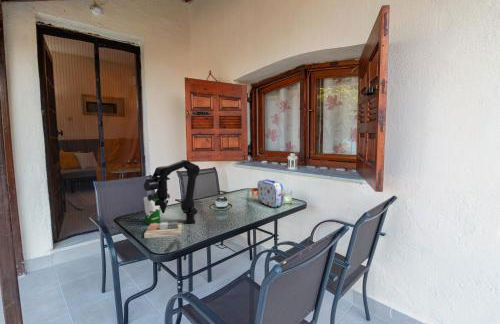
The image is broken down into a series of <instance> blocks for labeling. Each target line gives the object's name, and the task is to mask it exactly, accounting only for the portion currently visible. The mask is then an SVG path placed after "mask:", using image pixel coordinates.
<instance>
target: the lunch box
mask: <svg viewBox="0 0 500 324" xmlns="http://www.w3.org/2000/svg"><path fill="white" fill-rule="evenodd" d="M283 196H284V188H283V184H282V183H280V182H279V181H276V180H270V179H263V180H259V181H258V182H257V199H258V201H259V202H260V203H261V202H262V204H263V203H264V204H263V205H265V204H266V205H265V206H267V205H268V207H270V206H271V207H270V208H278V207H282V206H283V201H284V198H283ZM277 206H278V207H277Z"/></svg>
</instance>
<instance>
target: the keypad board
mask: <svg viewBox="0 0 500 324" xmlns="http://www.w3.org/2000/svg"><path fill="white" fill-rule="evenodd" d="M170 224H171V223H168V229H167V230H160V224H158V229H157V230H154V231H150V225H148V227H147V229H146V230H145V231H144V234H143V235H144V239H149V238H150V239H151V238H164V237H176V236H181V233H182V229H183V223H182V222H181V223H179V222H178V229H171V227H170Z"/></svg>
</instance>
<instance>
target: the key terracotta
mask: <svg viewBox="0 0 500 324" xmlns="http://www.w3.org/2000/svg"><path fill="white" fill-rule="evenodd" d="M158 225H159V223H151V224H150V225H149V226H150V231H154V230H157V229H158Z"/></svg>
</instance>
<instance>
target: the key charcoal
mask: <svg viewBox="0 0 500 324" xmlns="http://www.w3.org/2000/svg"><path fill="white" fill-rule="evenodd" d="M169 224H170V227H171V229H178V224H179V221H171V222H170V223H169Z"/></svg>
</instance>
